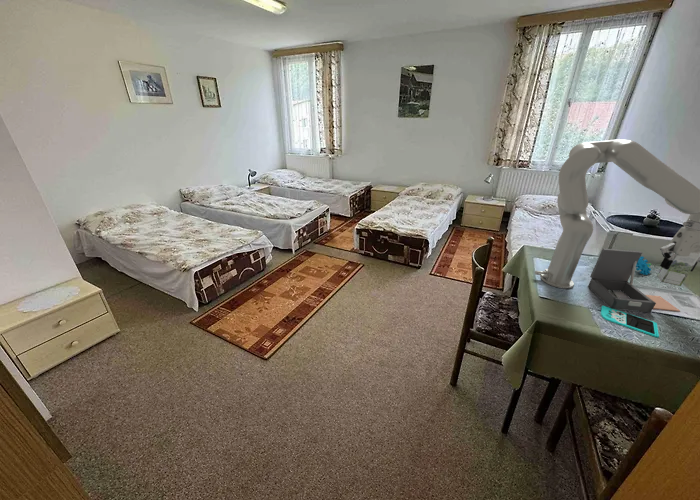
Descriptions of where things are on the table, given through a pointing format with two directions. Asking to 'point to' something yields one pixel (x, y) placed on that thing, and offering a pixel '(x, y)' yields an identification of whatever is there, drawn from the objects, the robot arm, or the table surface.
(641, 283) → the table surface
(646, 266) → the gear
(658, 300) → the rubber mat
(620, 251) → the case
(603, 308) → the handheld game console
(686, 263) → the syrup box
